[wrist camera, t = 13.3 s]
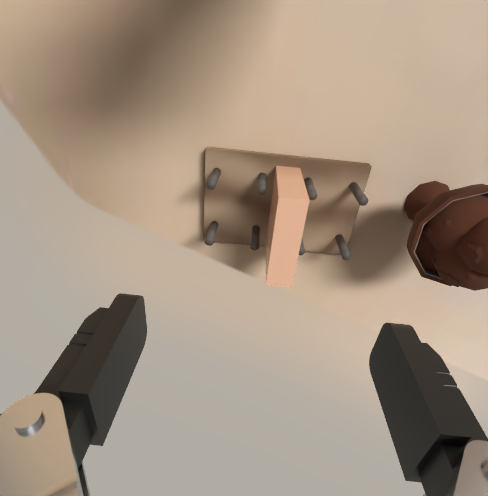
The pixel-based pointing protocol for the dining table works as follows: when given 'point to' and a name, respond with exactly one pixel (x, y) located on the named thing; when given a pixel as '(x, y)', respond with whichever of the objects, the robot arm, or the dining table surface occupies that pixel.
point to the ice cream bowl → (450, 234)
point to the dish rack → (260, 194)
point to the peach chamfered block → (285, 225)
